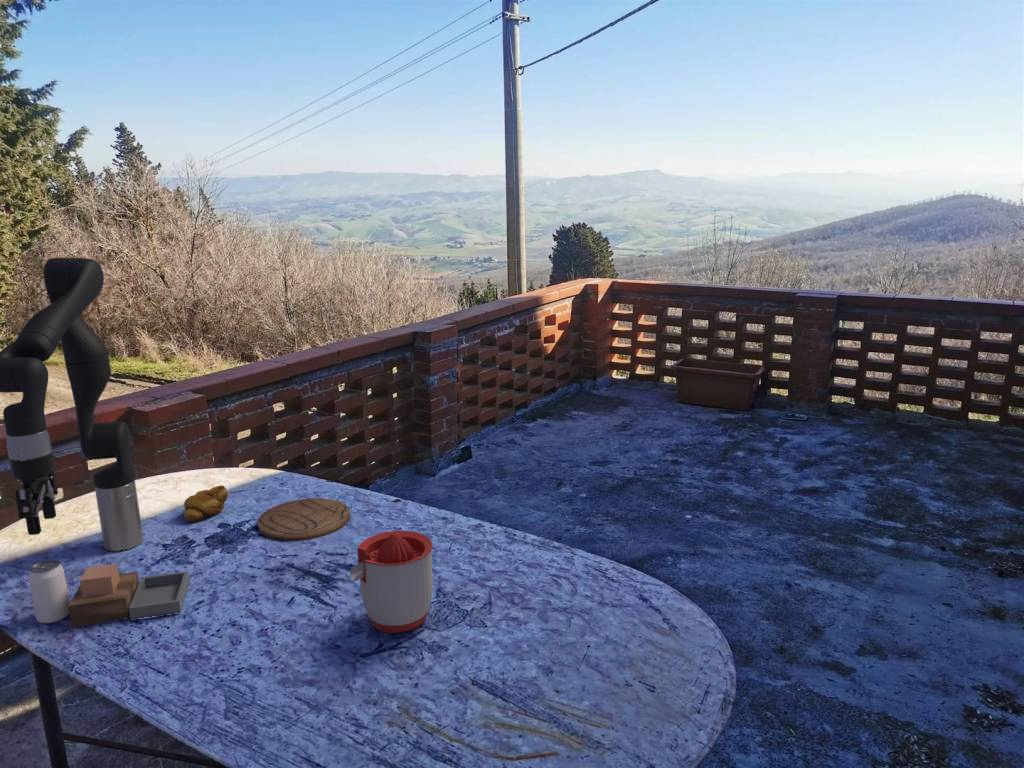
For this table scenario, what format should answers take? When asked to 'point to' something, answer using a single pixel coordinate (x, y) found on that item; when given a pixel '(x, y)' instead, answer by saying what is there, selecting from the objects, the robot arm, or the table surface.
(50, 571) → the can
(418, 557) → the citrus juicer
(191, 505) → the bread roll
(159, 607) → the box
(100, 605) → the brown wooden block
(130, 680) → the table surface
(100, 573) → the small tan cube
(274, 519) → the trivet
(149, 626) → the table surface
